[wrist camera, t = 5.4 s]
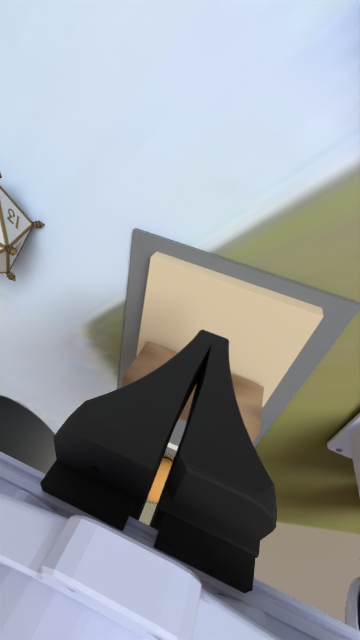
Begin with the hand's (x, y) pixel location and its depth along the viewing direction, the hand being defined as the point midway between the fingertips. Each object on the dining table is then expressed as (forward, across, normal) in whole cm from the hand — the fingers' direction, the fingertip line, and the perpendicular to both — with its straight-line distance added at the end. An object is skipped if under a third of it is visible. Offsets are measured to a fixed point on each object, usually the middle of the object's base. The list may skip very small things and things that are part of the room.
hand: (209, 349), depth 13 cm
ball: (+6, 0, +29) cm, 29 cm away
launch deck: (+8, 0, +16) cm, 18 cm away
